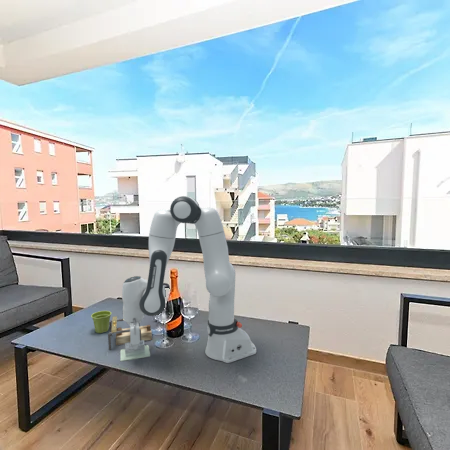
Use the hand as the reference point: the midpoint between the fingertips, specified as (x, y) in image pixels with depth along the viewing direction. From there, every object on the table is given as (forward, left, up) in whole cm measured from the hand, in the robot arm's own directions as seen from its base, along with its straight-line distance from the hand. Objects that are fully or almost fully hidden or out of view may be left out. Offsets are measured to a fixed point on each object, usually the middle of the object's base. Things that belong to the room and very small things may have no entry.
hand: (134, 345), depth 126 cm
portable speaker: (-16, -31, -4) cm, 35 cm away
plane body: (+2, -14, -4) cm, 15 cm away
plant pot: (+15, -28, -4) cm, 32 cm away
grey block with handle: (0, 0, -3) cm, 3 cm away
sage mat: (0, 0, -4) cm, 4 cm away
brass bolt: (+9, -14, +4) cm, 17 cm away
